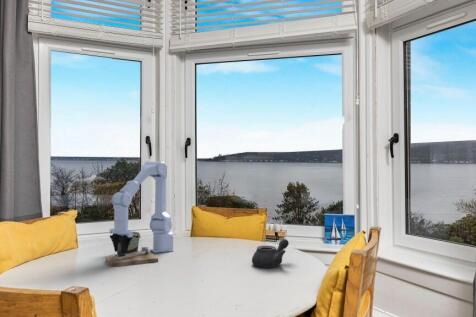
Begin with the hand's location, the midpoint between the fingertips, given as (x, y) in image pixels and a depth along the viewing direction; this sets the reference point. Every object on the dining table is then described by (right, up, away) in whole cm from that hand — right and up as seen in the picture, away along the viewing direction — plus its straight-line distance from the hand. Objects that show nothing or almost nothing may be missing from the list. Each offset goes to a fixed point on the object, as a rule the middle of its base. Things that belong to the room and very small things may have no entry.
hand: (120, 252), depth 166 cm
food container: (-1, -5, +16) cm, 17 cm away
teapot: (+66, -5, -1) cm, 66 cm away
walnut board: (+4, -5, +2) cm, 7 cm away
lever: (+4, -3, +4) cm, 7 cm away
